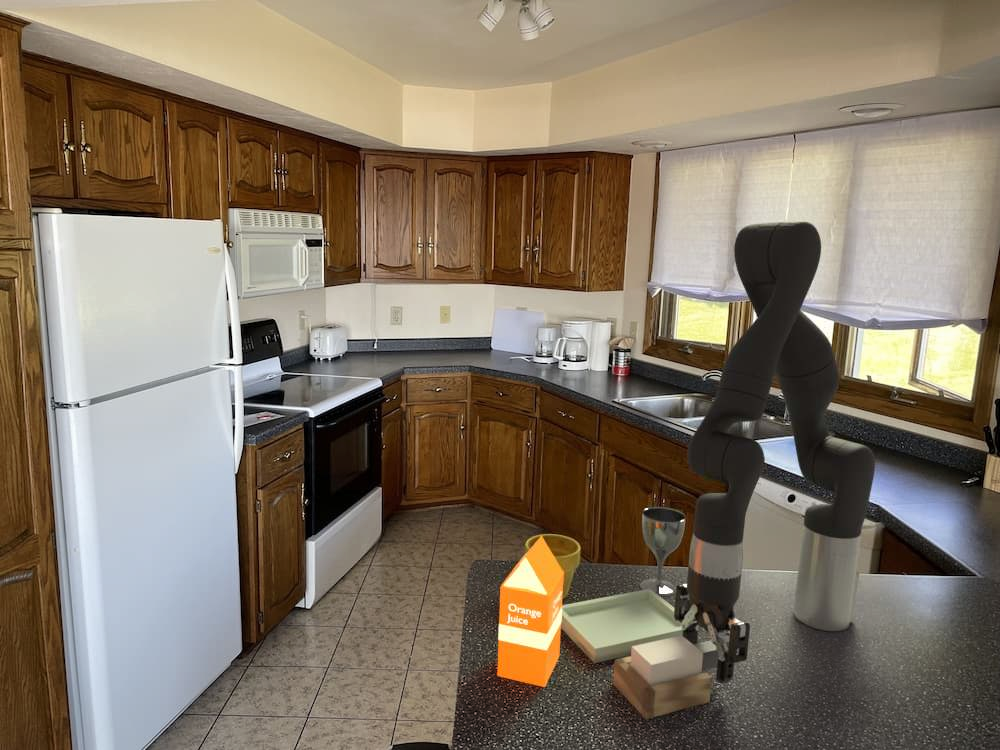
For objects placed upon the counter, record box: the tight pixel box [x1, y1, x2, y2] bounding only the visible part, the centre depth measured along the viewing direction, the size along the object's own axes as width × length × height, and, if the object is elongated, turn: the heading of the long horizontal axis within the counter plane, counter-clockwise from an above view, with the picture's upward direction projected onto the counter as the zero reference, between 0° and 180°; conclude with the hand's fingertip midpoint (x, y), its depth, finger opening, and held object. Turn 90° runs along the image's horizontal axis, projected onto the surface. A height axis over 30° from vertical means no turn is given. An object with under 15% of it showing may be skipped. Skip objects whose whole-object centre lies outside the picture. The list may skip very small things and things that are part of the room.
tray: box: [561, 589, 699, 664], centre depth 121 cm, size 20×14×2 cm
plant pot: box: [524, 533, 582, 600], centre depth 133 cm, size 10×10×10 cm
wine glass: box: [639, 506, 686, 597], centre depth 136 cm, size 8×8×15 cm
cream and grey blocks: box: [630, 635, 719, 686], centre depth 105 cm, size 14×5×7 cm, turn 113°
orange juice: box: [496, 536, 564, 688], centre depth 109 cm, size 8×9×20 cm
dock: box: [612, 655, 713, 720], centre depth 104 cm, size 11×9×4 cm
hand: (705, 666), depth 107 cm, fingers open, 7 cm apart
